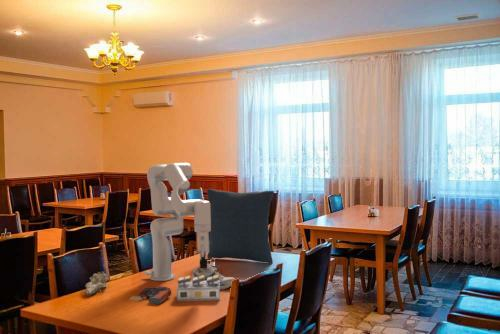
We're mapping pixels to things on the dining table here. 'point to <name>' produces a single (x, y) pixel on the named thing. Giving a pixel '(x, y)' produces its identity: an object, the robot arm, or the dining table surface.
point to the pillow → (240, 225)
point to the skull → (96, 283)
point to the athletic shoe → (212, 272)
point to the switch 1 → (184, 279)
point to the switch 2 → (198, 279)
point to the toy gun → (154, 294)
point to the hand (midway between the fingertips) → (203, 267)
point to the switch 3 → (212, 279)
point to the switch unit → (198, 291)
